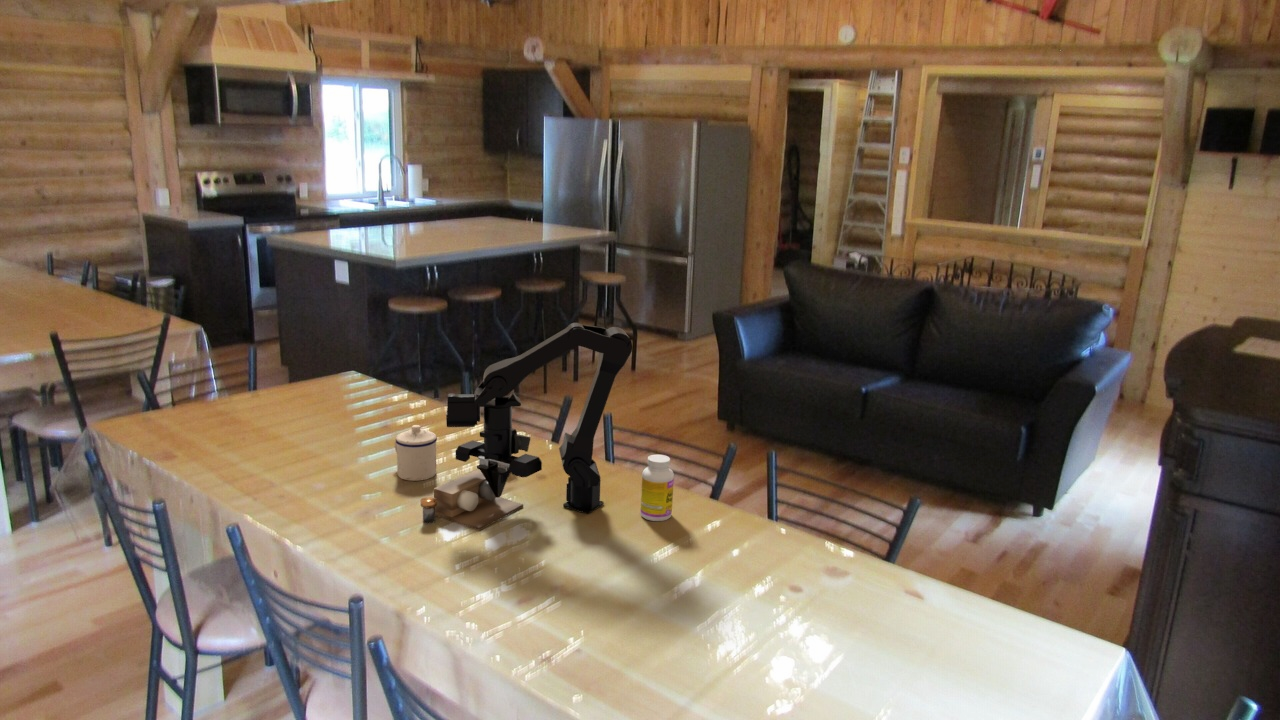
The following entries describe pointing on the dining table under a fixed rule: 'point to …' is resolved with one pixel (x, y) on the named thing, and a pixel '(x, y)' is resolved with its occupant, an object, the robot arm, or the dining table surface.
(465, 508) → the cream knob
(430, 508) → the copper domed knob
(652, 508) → the supplement bottle
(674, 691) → the dining table surface
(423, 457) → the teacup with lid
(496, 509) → the walnut mount
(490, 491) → the graphite knob
